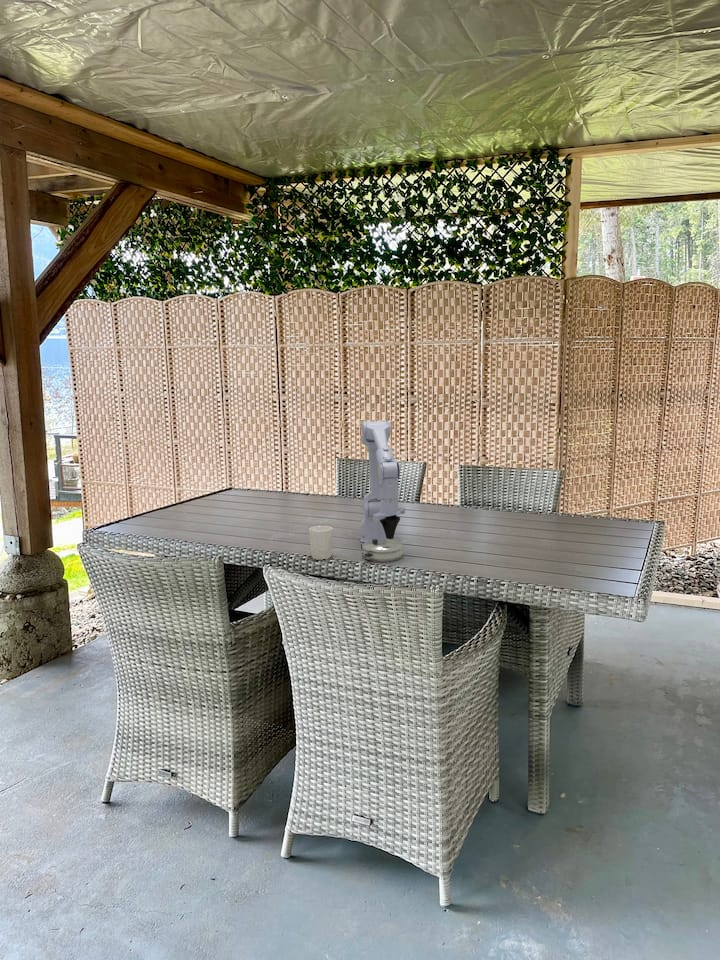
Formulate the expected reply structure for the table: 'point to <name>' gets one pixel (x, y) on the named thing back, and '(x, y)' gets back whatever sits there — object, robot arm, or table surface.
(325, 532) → the white cup
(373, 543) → the lid
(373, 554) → the grey flat round piece
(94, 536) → the table surface
